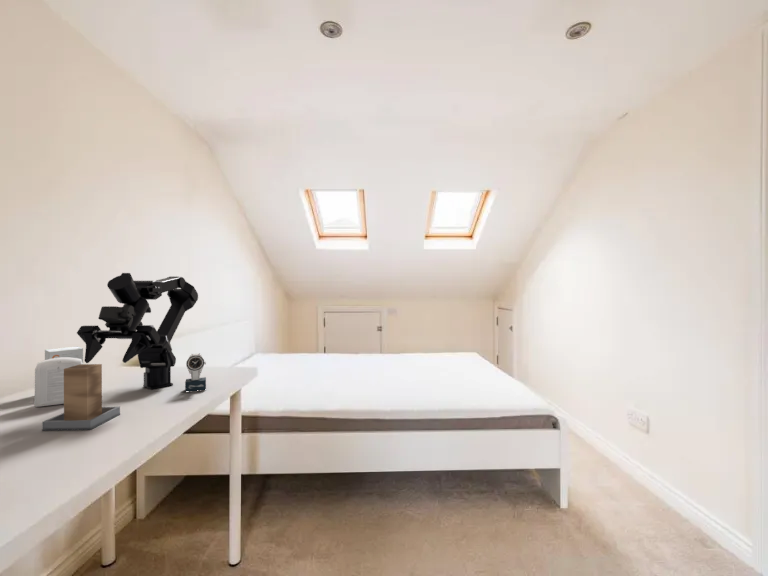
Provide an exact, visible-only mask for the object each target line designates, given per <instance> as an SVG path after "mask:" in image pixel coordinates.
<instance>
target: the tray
mask: <svg viewBox="0 0 768 576" xmlns="http://www.w3.org/2000/svg"><path fill="white" fill-rule="evenodd" d="M120 415H121V406H102V414H101V415H99V416H97V417H95V418H93V419H91V420H64V412H63V413H60V414H57V415H55V416H53V417H50V418H48V419H46V420H43V421H42V423H41V425H42V426H41V427H42V429H41V430H42V432H49V431H50V432H52V431H57V432H59V431H92V430H93V429H95V428H98V427H99V426H101V425H103V424H104V423H105V424H106V423H107V422H109V421H110V420H112V419H114V418H116V417H118V416H120Z"/></svg>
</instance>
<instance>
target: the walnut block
mask: <svg viewBox="0 0 768 576" xmlns="http://www.w3.org/2000/svg"><path fill="white" fill-rule="evenodd" d="M102 367H103V364H102V363H98V364H97V363H94V364H93V363H92V364H91V363H90V364H89V363H83V364H80V365H76V366H72V367H69V368H65V369H64V404H63V413H64V420H91V419H93V418H95V417H97V416H99V415H101V414H102V407H103V387H102V386H103V385H102V384H103V374H102V373H103V371H102V370H103V368H102Z"/></svg>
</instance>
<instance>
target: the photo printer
mask: <svg viewBox="0 0 768 576" xmlns="http://www.w3.org/2000/svg"><path fill="white" fill-rule="evenodd" d="M80 364H84V362H83V363H82V359H78V358H71V357H61V358H53V359H48V360H45V359H44V360H40V361H39V362H37V363H36V367H35V369H34V403H33V404H34V405H33V406H34V407H36V408H39V407H47V406H48V407H49V406H55V405H57V406H58V405H64V369H65V368H69V367H72V366H76V365H80Z"/></svg>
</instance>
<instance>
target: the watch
mask: <svg viewBox="0 0 768 576" xmlns="http://www.w3.org/2000/svg"><path fill="white" fill-rule="evenodd" d="M185 364H186V368H187V370H188V373H189V375H190V378H186V379H185V382H184V383H185V385H184V390H185V392H186V391H197V390H205V389H206V390H207V377H206V376H204V377H200V376H201V374H202V371H203V369H204V365H207V362H206V361H205V358H203V356H202V354H201V353H191V355H189V356H188V359H187V361H186V363H185ZM185 392H184V393H185ZM197 392H198V391H197Z"/></svg>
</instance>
